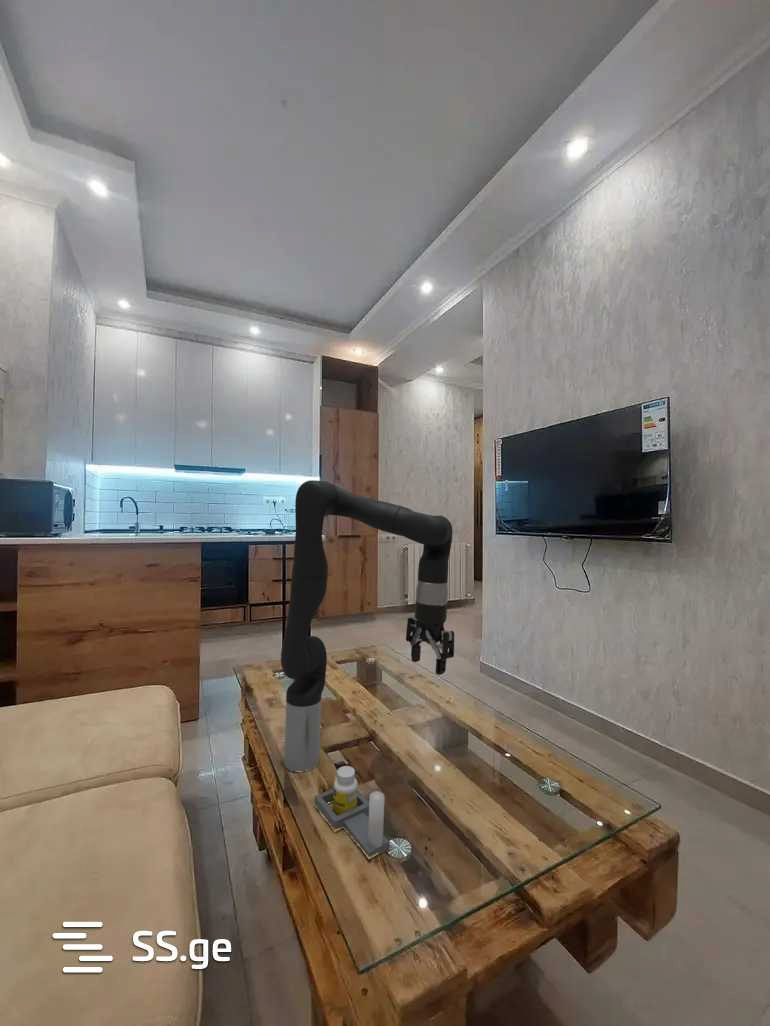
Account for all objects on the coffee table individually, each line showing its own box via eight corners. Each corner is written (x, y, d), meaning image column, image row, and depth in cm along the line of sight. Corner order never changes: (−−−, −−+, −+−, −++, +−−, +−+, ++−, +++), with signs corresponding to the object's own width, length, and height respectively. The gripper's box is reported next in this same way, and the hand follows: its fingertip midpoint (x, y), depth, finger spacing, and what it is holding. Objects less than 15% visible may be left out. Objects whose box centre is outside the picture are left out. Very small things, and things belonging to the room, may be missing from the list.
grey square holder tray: (314, 806, 98) (315, 759, 98) (349, 791, 104) (351, 746, 104) (359, 865, 83) (361, 809, 82) (397, 844, 88) (400, 792, 88)
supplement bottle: (327, 812, 97) (329, 769, 97) (346, 802, 100) (348, 760, 100) (342, 826, 93) (343, 782, 93) (361, 815, 96) (363, 772, 96)
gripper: (400, 594, 105) (396, 660, 106) (441, 608, 94) (436, 682, 94) (423, 592, 109) (419, 654, 110) (464, 605, 98) (460, 675, 99)
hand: (427, 667), depth 102 cm, fingers open, 8 cm apart
